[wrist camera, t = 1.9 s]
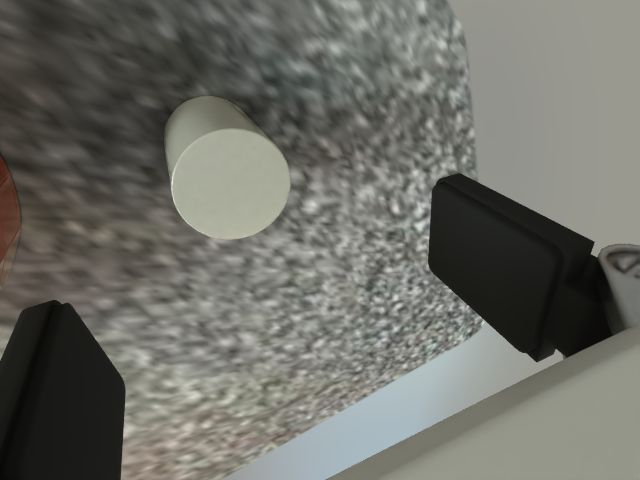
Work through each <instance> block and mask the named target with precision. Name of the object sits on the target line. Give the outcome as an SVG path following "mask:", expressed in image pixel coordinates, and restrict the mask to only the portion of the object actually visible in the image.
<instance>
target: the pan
mask: <svg viewBox="0 0 640 480" xmlns="http://www.w3.org/2000/svg"><path fill="white" fill-rule="evenodd" d="M20 230H21V224H20V207H19V202H18V198H17V193H16V189H15V186H14V184H13V181H12V178H11V176H10V173H9V171H8V168H7V166H6V164H5V163H4V161H3V159H2V157H1V155H0V291H1V289H2V287H3V285H4V283H5V281H6V279H7V277H8V275H9V273H10V271H11V268H12V263H13V259H14V256H15V253H16V250H17V248H18V242H19V236H20Z"/></svg>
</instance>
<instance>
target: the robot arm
mask: <svg viewBox="0 0 640 480" xmlns="http://www.w3.org/2000/svg"><path fill="white" fill-rule="evenodd" d="M593 245H594V241H592V240H590V239H588V238H586V237H584V236H582V235H580V234H578V233H576V232H574V231H572V230H570V229H568V228H566V227H564V226H562V225H560V224H558V223H556V222H554V221H552V220H551V219H548V218H547V217H545V216H543V215H540V214H539V213H537V212H535V211H533V210H530V209H529V208H527V207H525V206H523V205H521V204H519V203H517V202H515V201H513V200H511V199H509V198H507V197H505V196H504V195H502V194H500V193H498V192H496V191H494V190H492V189H490V188H488V187H486V186H484V185H482V184H480V183H478V182H476V181H474V180H472V179H470V178H468V177H466V176H464V175H463V174H459V173H458V174H454V175H450V176H447V177H444V178H441V179H439V180H438V181H437V183H436V186H434V187H433V190H432V202H431V220H430V238H429V255H428V264H429V267H430V270H431V271H432V272H433V274H434V275H436V276H437V277H438V278H439V279H440V280H441V281H442V282H443V283H444V284H445V285H447V286H448V287H449V288H450V289H451V290H452V291H453V292H454V293H455V294H456V295H458V296H459V297H460V298H461V299H462V300H463V301H464V302H465V303H466V304H467V305H469V306H470V307H471V308H472V309H473V310H474V311H475V312H476V313H477V314H478V315H480V316H481V317H482V318H483V319H484V320H485V321H486V322H487V323H488V324H489V325H491V326H492V327H493V328H494V329H495V330H496V331H497V332H498V333H499V334H500V335H502V336H503V337H504V338H505V339H506V340H507V341H508V342H509V343H510V344H511V345H513V346H514V347H515V348H516V349H517V350H518V351H520V352H522V353H527V354H528V355H529V356H530V357H531V358H532V359H534V360H535V361H536V362H539V361H541V360H543V359H545V358H547V357H549V356H551V355H553V354H554V352H555V349H557V350H558V351H560V352H561V353H562V354H563V359H564V360H562V361H560V362H558V363H556V364H554V365H552V366H550V367H548V368H546V369H544V370H542V371H540V372H538V373H536V374H534V375H532V376H530V377H528V378H526V379H524V380H522V381H520V382H518V383H516V384H514V385H512V386H510V387H508V388H506V389H504V390H502V391H500V392H498V393H496V394H494V395H492V396H490V397H488V398H486V399H484V400H482V401H480V402H478V403H476V404H475V405H472V406H470V407H468V408H466V409H464V410H462V411H460V412H458V413H456V414H454V415H452V416H450V417H448V418H447V419H444V420H443V421H440V422H438V423H436V424H434V425H433V426H431V427H429V428H427V429H425V430H423V431H421V432H419V433H417V434H415V435H413V436H411V437H409V438H407V439H405V440H403V441H401V442H399V443H397V444H395V445H393V446H391V447H389V448H387V449H385V450H383V451H381V452H379V453H377V454H375V455H373V456H371V457H369V458H367V459H366V460H363V461H362V462H360V463H358V464H356V465H354V466H352V467H350V468H348V469H346V470H344V471H342V472H340V473H338V474H336V475H334V476H332V477H330V478H328V479H326V480H640V245H634V244H614V245H610V246H607V247H605V248H603V249H602V250H601V251H600V253H599V255H598V257H595V256H593V255H591V251H592V248H593ZM124 410H125V385H124V381H123V379H122V377H121V375H120V374H119V372H118V371H117V370H116V368H115V367H114V365H113V364H112V362H111V361H110V360H109V358H108V357H107V355H106V354H105V352H104V351H103V350H102V348H101V347H100V345H99V344H98V342H97V341H96V340H95V338H94V337H93V335H92V334H91V332H90V331H89V329H88V328H87V327H86V325H85V324H84V322H83V321H82V319H81V318H80V317H79V315H78V314H77V312H76V311H75V309H74V308H73V307H72V306H71V305H70V304H69V303H64V304H61V303H60V302H58V301H57V300H52V301H49V302H45V303H42V304H39V305H36V306H33V307H29V308H26V309H24V310H23V311H22V312H21V313H20V316H19V318H18V321H17V323H16V325H15V328H14V330H13V332H12V335H11V337H10V339H9V342H8V344H7V347H6V349H5V351H4V354H3V356H2V358H1V361H0V480H121V462H122V445H123V428H124Z"/></svg>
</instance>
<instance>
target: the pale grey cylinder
mask: <svg viewBox="0 0 640 480" xmlns="http://www.w3.org/2000/svg"><path fill="white" fill-rule="evenodd" d="M164 146H165V153H166V159H167V166H168V172H169V179H170V185H171V192H172V198H173V201H174V204H175V206H176V208H177V211H178V212H179V214H180V215H181V217H182V218H183V219H184V220H185V221H186V222H187V223H188V224H189V225H190V226H191V227H192V228H194V229H195V230H197V231H199V232H201V233H203V234H205V235H207V236H210V237H214V238H219V239H239V238H244V237H248V236H251V235H253V234H256V233H258V232H260V231H261V230H263V229H265V228H266V227H267V226H269V225H270V224H271V223H272V222H273V221H274V220H275V219H276V218H277V217H278V216H279V214H280V213H281V212H282V210H283V208H284V207H285V205H286V202H287V200H288V197H289V193H290V187H291V177H290V170H289V166H288V164H287V161H286V159H285V157H284V155H283V154H282V152H281V151H280V150H279V148H278V147H277V146H276V145H275V144H274V143H273V142H272V141H271V140H270V139H269V138H268V137H267V136H266V135H265V134H264V133H263V131H262V130H261V129H260V128H259V127H258V126H257V125H256V124H255V123H254V122H253V121H252V120H251V119H250V118H249V117H248V116H247V115H246V114H245V113H244V112H243V111H242V110H241V109H240V108H239V107H238V106H236V105H235V104H234V103H232V102H230V101H228V100H226V99H223V98H220V97H215V96H201V97H196V98H192V99H190V100H188V101H186V102H184V103H183V104H181V105H180V106H179V107H177V108H176V109H175V110H174V112H173V113H172V114H171V116H170V117H169V119H168V121H167V123H166V127H165V130H164Z"/></svg>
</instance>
